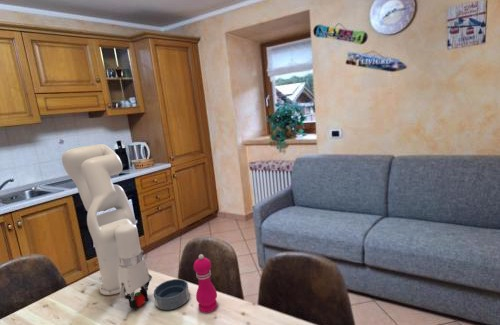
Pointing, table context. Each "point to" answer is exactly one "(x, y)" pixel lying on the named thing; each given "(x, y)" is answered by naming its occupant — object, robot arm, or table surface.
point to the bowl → (171, 294)
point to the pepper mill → (205, 285)
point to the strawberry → (139, 298)
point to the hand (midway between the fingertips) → (139, 303)
